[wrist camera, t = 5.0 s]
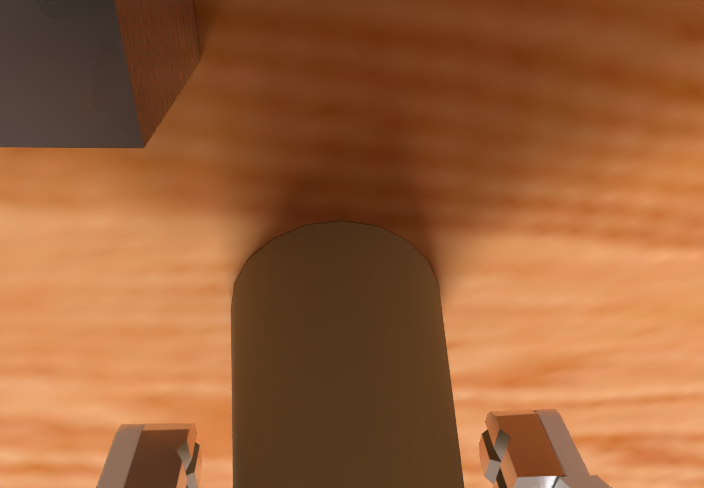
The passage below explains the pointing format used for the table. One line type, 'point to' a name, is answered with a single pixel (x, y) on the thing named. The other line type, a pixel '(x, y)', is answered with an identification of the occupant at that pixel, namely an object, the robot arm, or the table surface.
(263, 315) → the cork
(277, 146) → the table surface
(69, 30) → the grey rectangular box
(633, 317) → the table surface
